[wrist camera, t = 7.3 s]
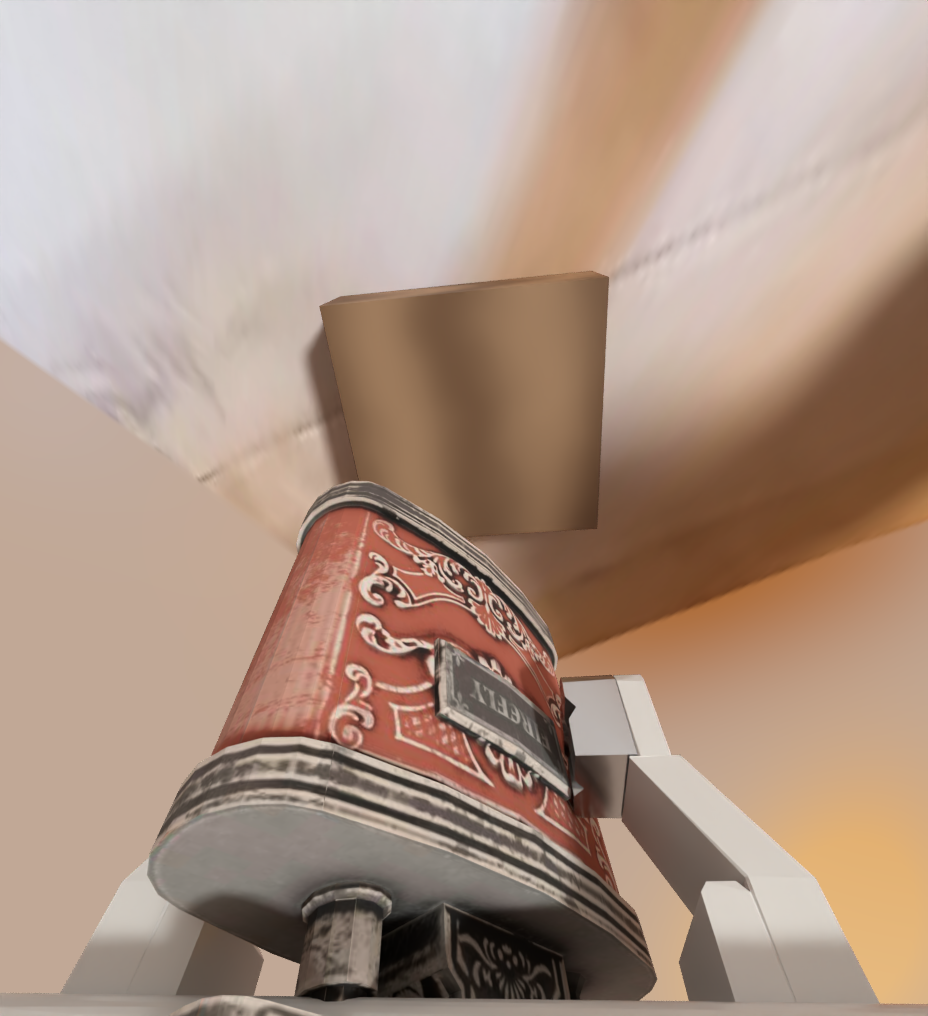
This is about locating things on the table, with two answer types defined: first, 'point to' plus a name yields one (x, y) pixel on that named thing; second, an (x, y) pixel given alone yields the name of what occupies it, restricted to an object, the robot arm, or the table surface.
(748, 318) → the table surface
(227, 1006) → the lighter
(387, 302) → the walnut base
